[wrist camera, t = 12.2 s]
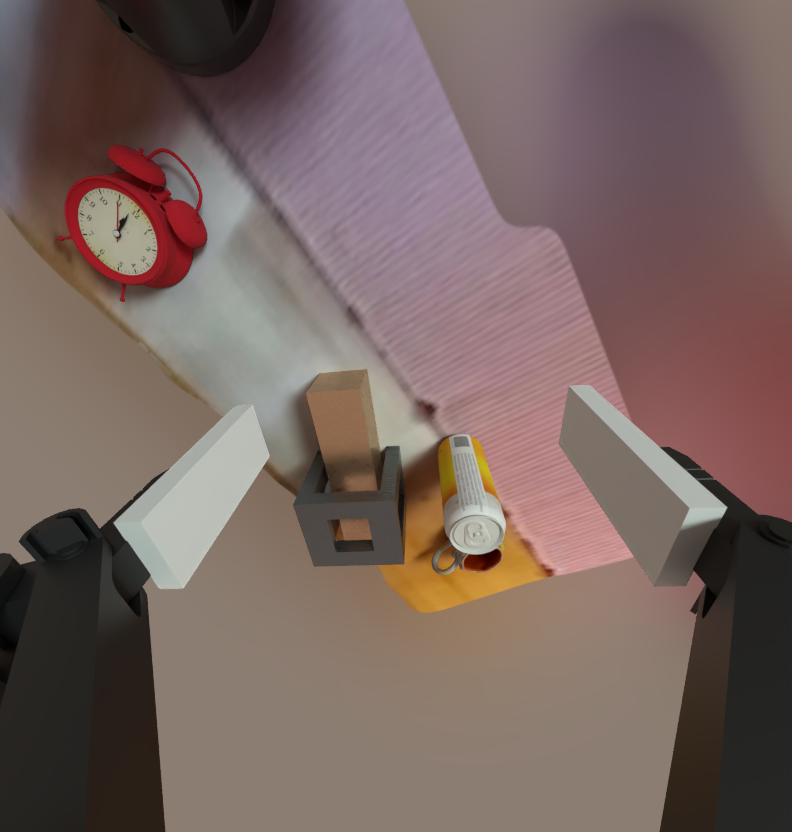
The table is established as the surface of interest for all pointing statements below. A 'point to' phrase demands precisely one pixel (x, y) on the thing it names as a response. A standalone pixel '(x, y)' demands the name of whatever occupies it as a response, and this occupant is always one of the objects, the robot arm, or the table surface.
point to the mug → (469, 560)
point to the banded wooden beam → (347, 438)
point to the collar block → (354, 516)
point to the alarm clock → (134, 222)
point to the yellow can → (469, 496)
